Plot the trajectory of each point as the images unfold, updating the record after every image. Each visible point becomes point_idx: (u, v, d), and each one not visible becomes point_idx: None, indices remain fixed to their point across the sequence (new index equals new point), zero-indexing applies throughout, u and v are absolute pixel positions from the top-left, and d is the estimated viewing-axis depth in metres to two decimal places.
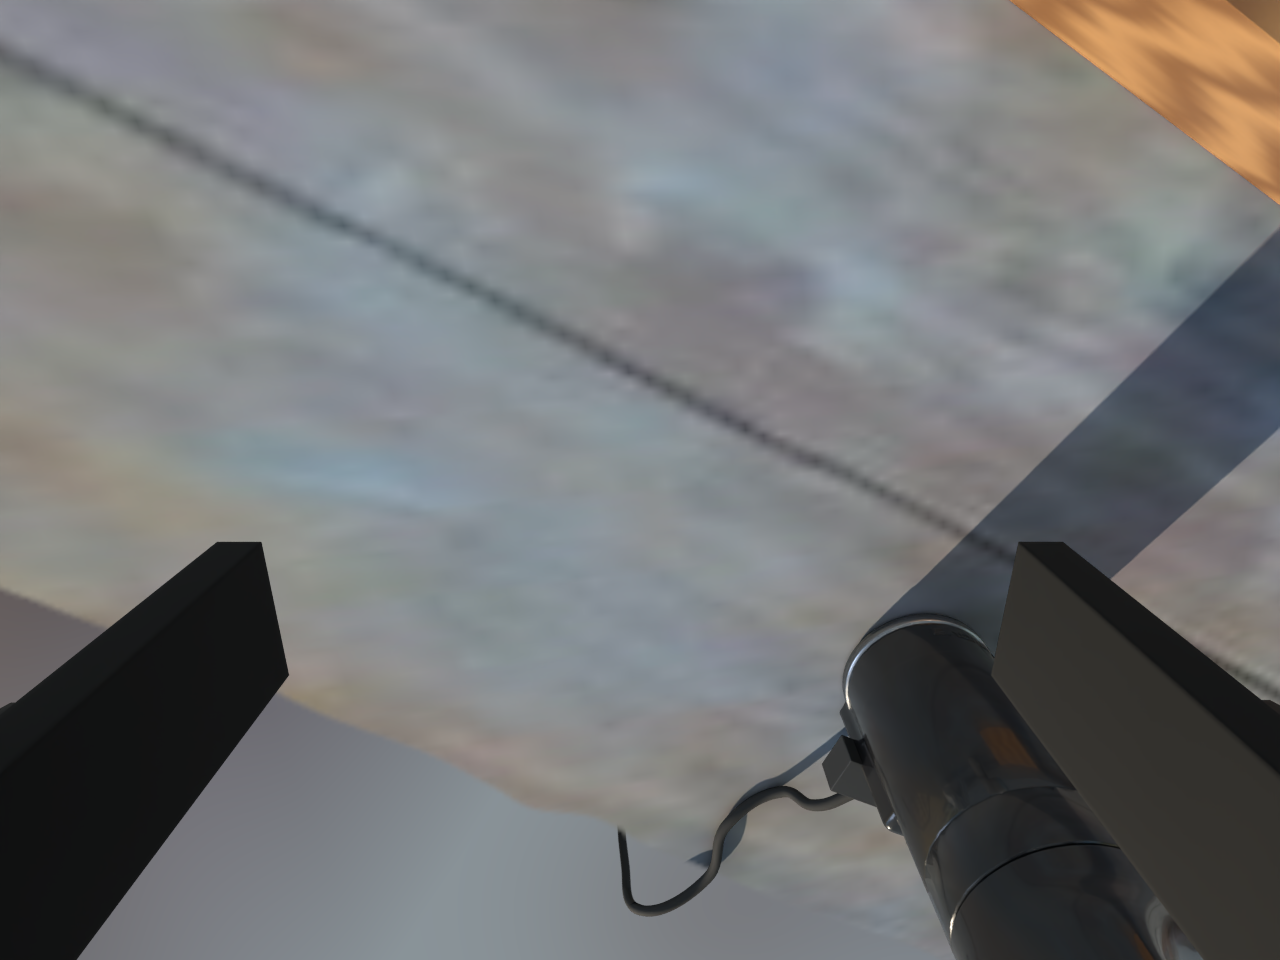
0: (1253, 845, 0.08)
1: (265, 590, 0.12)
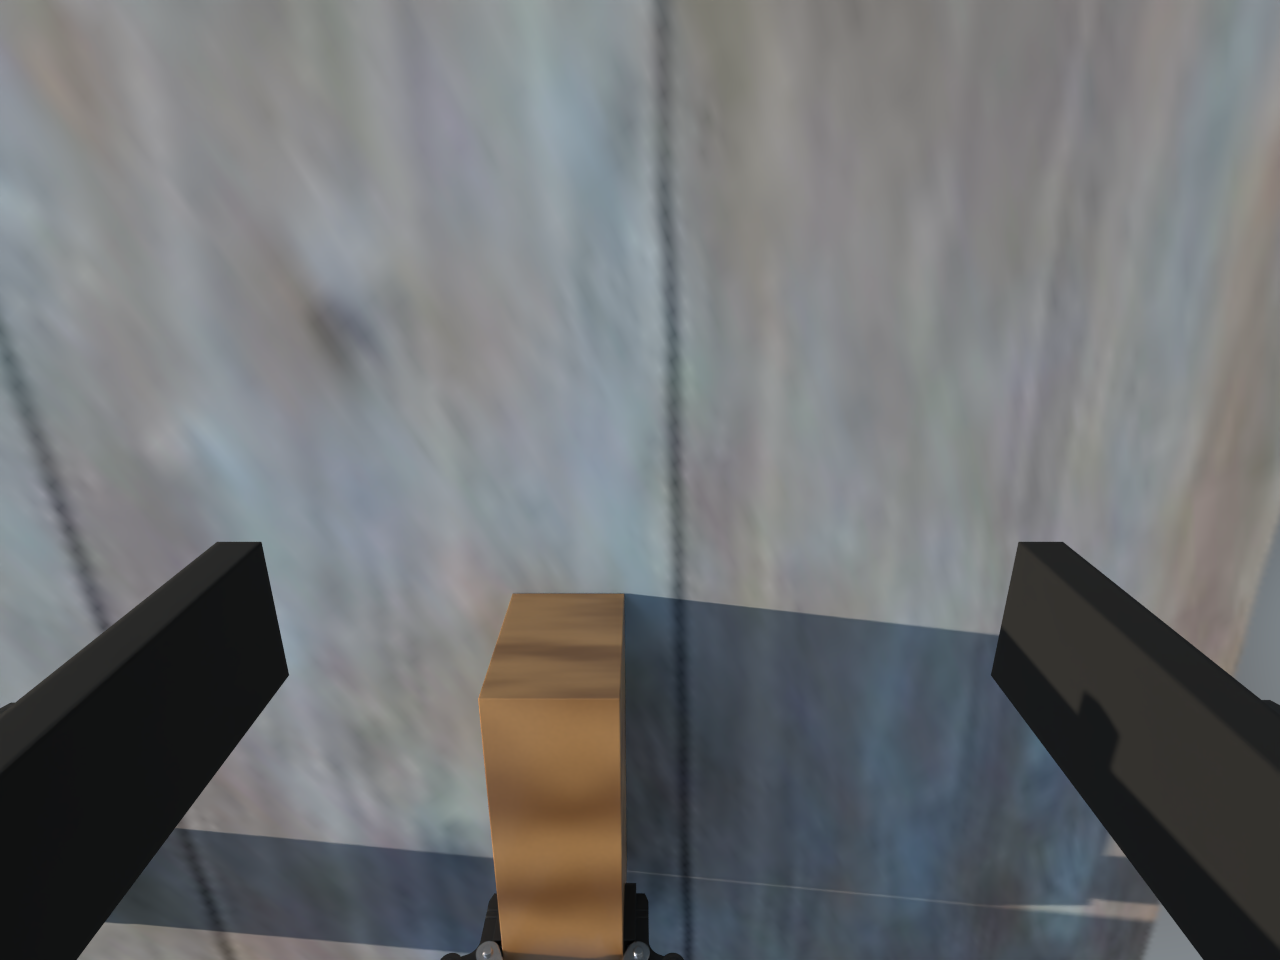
0: (1253, 845, 0.08)
1: (266, 590, 0.12)
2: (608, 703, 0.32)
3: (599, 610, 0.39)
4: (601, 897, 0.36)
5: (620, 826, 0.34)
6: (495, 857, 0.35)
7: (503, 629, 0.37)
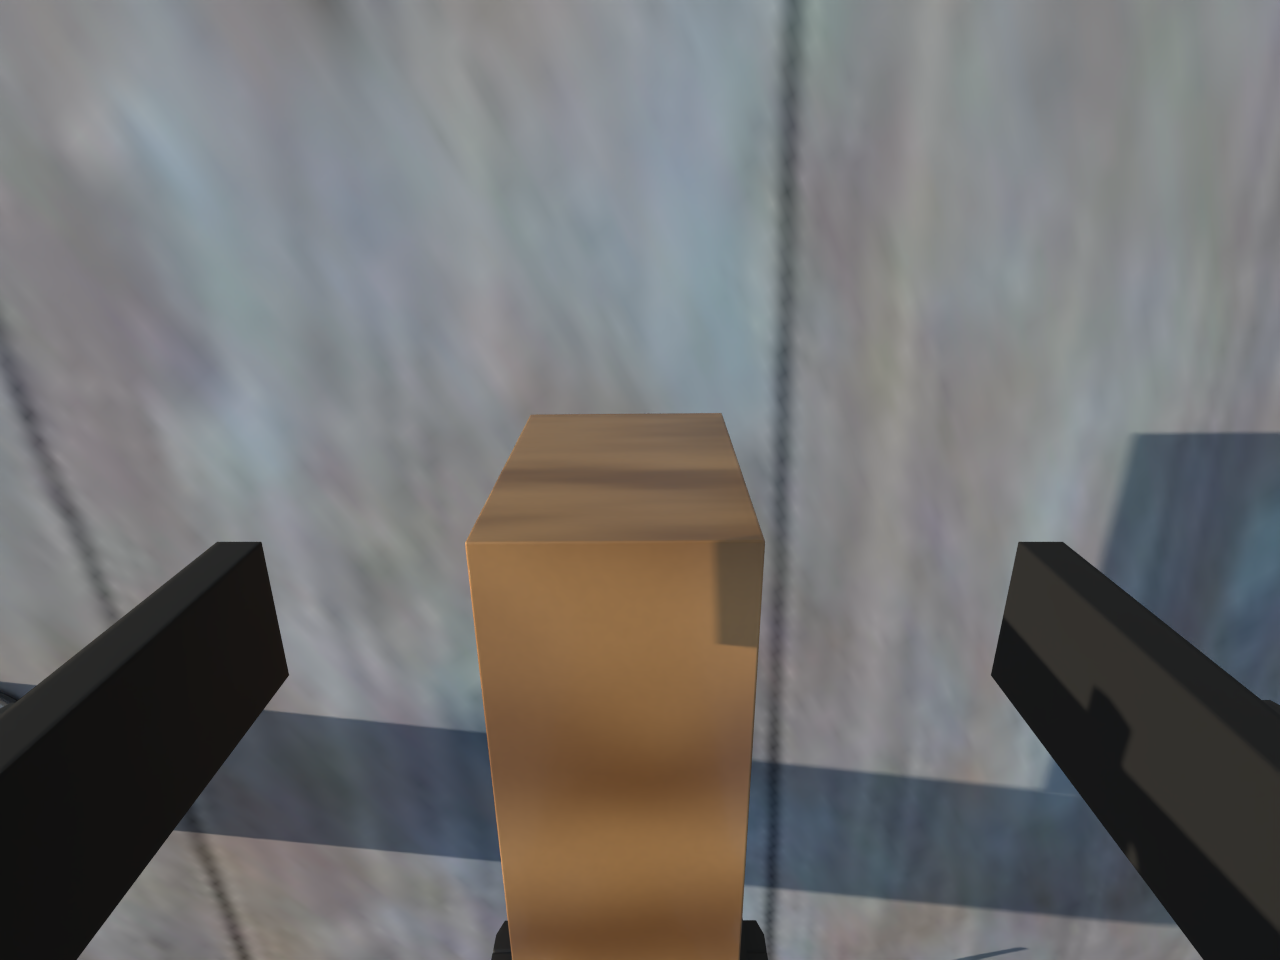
0: (1253, 845, 0.08)
1: (266, 590, 0.12)
2: (740, 550, 0.15)
3: (685, 430, 0.22)
4: (702, 939, 0.19)
5: (746, 809, 0.18)
6: (505, 868, 0.18)
7: (515, 452, 0.20)
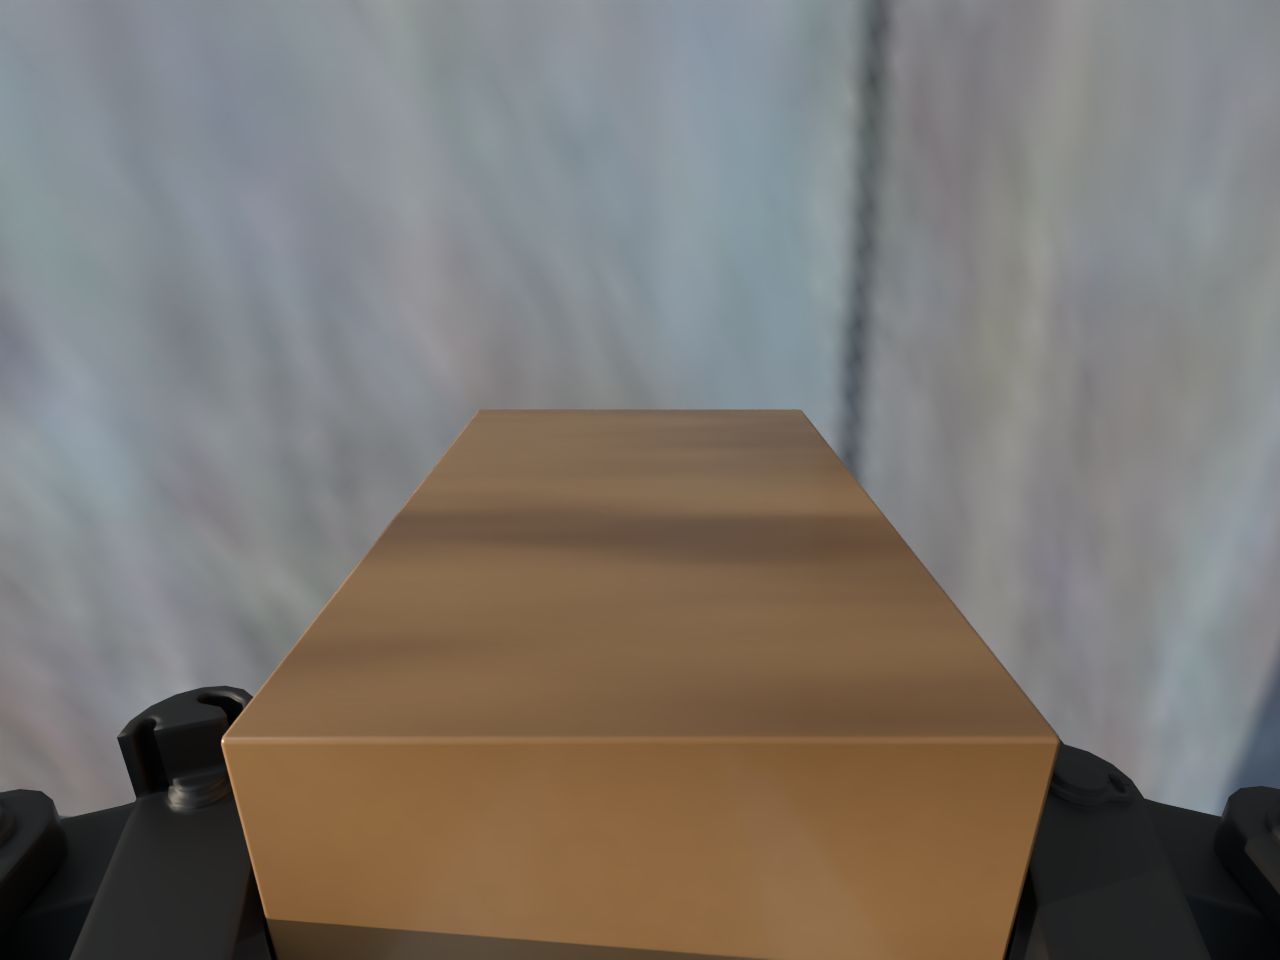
0: None
1: None
2: (990, 765, 0.05)
3: (748, 437, 0.12)
4: None
5: None
6: None
7: (435, 476, 0.11)
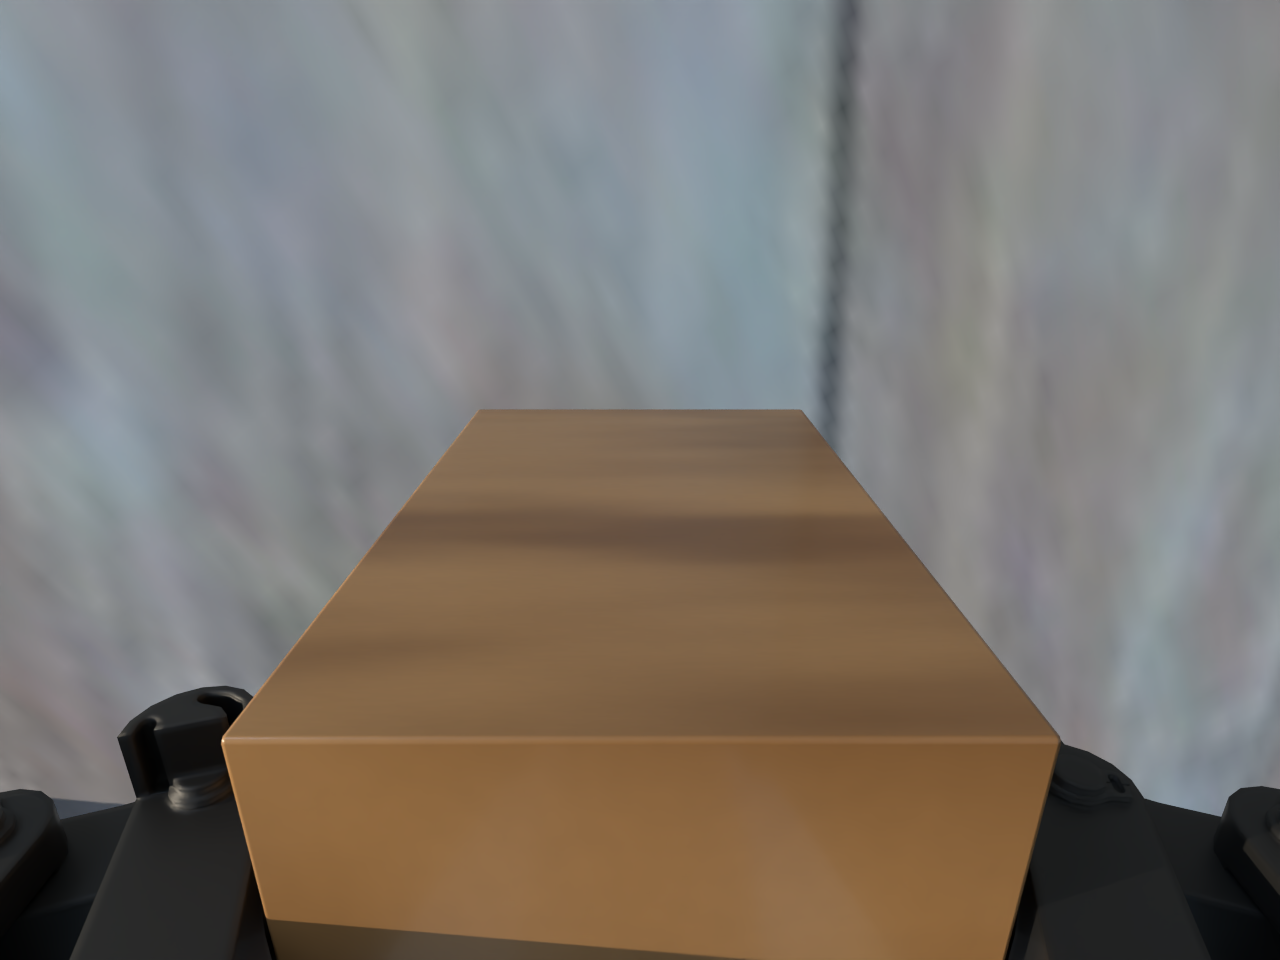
0: None
1: None
2: (990, 765, 0.05)
3: (748, 437, 0.12)
4: None
5: None
6: None
7: (435, 476, 0.11)
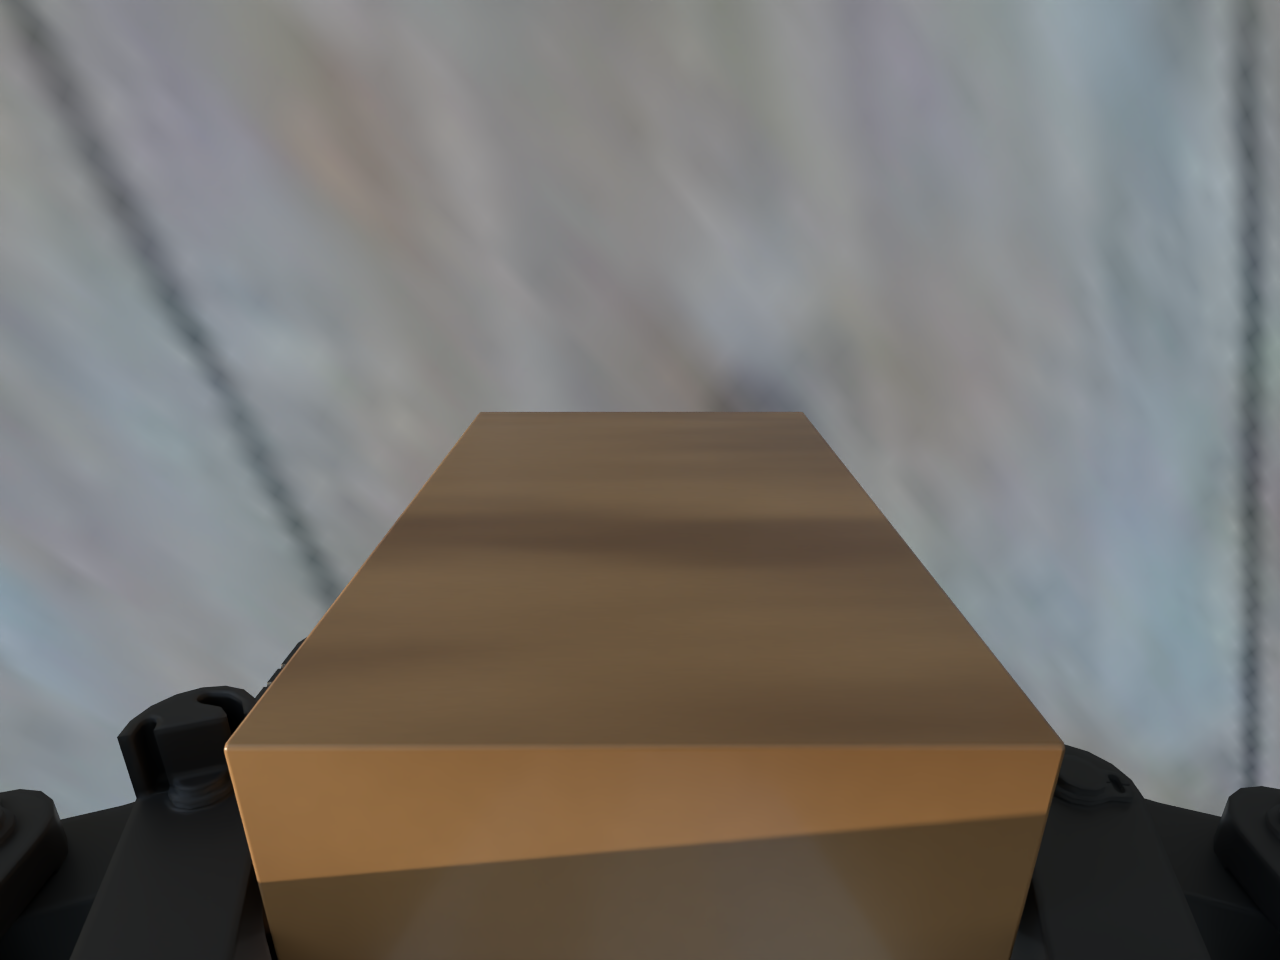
0: None
1: None
2: (997, 772, 0.05)
3: (749, 439, 0.12)
4: None
5: None
6: None
7: (436, 479, 0.10)
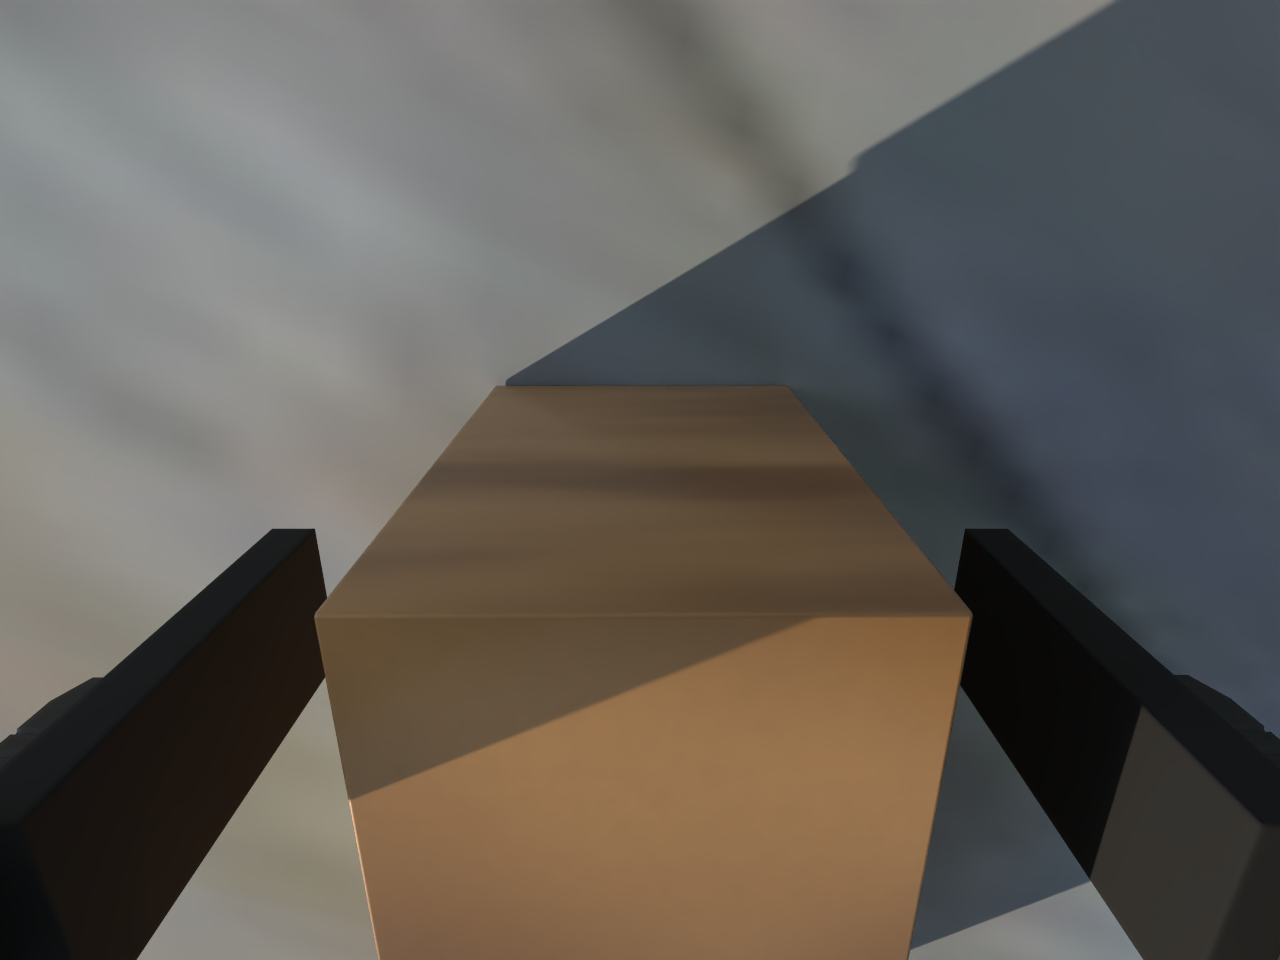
0: (1154, 806, 0.08)
1: (319, 575, 0.13)
2: (918, 635, 0.07)
3: (738, 407, 0.14)
4: None
5: None
6: None
7: (462, 437, 0.12)
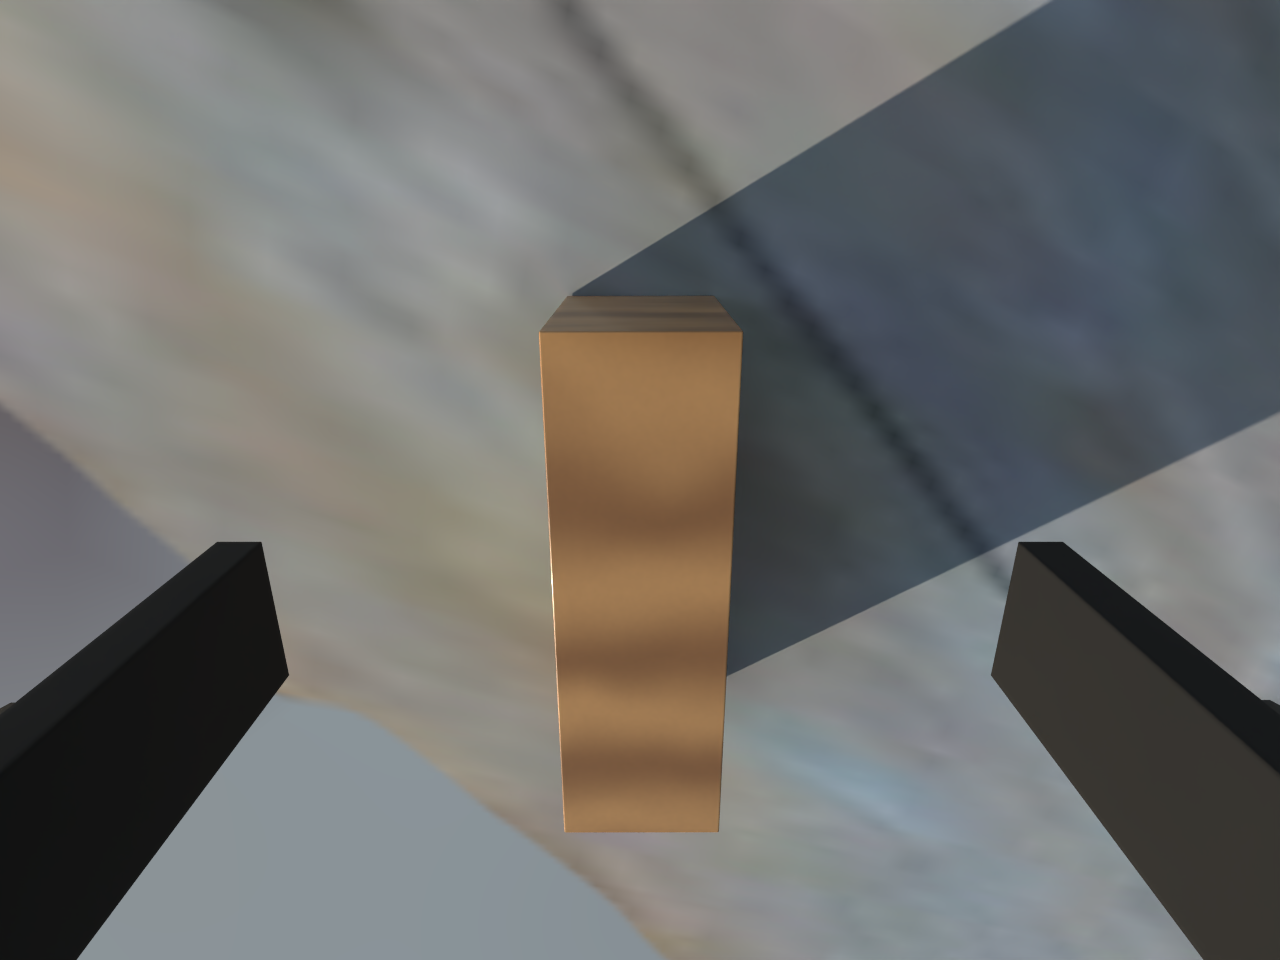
0: (1253, 845, 0.08)
1: (266, 590, 0.12)
2: (726, 339, 0.22)
3: (686, 300, 0.29)
4: (698, 662, 0.26)
5: (731, 548, 0.25)
6: (555, 599, 0.25)
7: (561, 307, 0.27)
